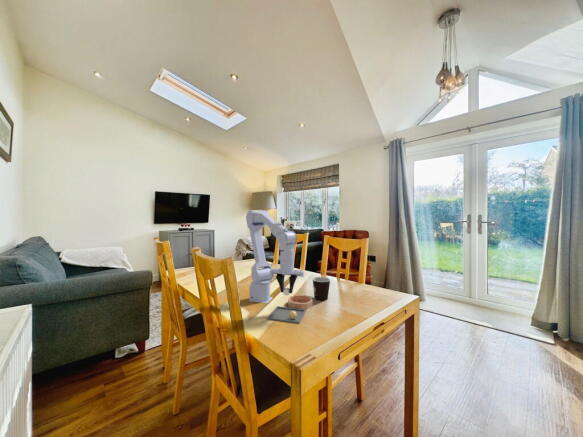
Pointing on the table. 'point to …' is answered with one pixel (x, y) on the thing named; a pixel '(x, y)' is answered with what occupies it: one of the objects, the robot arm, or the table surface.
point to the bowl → (300, 301)
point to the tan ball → (292, 314)
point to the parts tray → (286, 314)
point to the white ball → (286, 291)
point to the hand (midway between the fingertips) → (286, 292)
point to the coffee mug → (321, 288)
